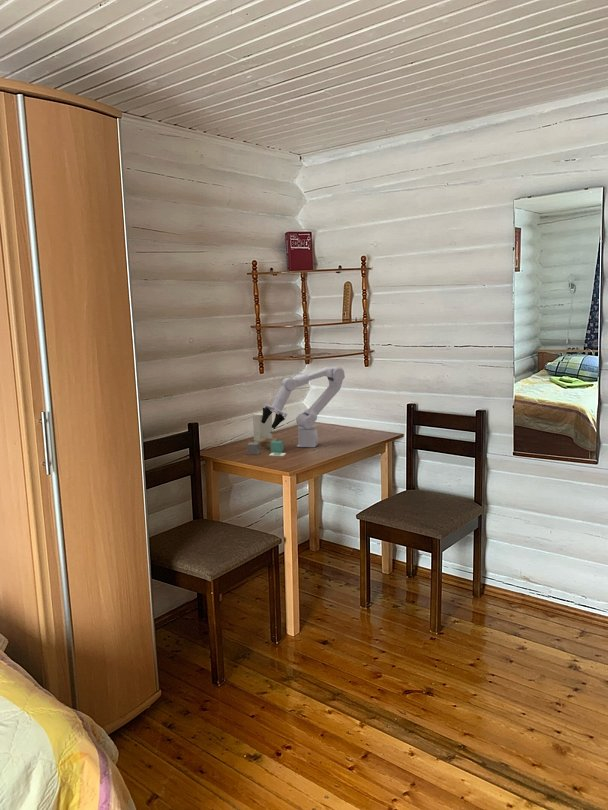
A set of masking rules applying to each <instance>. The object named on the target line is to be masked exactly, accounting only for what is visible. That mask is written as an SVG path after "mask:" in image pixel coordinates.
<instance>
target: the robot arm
mask: <svg viewBox="0 0 608 810" xmlns="http://www.w3.org/2000/svg"><path fill="white" fill-rule="evenodd" d="M298 373H299V374H297V375H291V376H290V377H285V378H284V379H283V380H281V382H280V388H279V390H278V392H277V393H276V396H275V397H274V399H273V402H272V403H271V405H270V404H268V403H264V406H263V407H262V413H263V415H262V420H261V422H262V423H264V424H265V422H266V420H267V419H268V417H269V416H270V415H271V414H272V413H275V416H274V420H273V421H272V429H273V430H275V429H276V428H277V427H278V426H279V425H280V424H281V423H282V422H284V421H285V420H286V418H287V416H288V413H286V412H284V411H283V410H284V407H285V405H286V403H287V401H288V399H289V397H290V396H291V393H292V391H295V390H296V389H297V388H301V387H302V386H306V385H308V384H309V383H310V381H312V380H315V379H319V378H322V377H327V380H328V387H327V388H325V390H324V391H323V392H322V393H321V395H320V396H319V397H318V398H316V400H315V401H314V402H313V404H312V405H311V406H309V408H307V409H305V410H304V411H303V412H302V413H299V414H298V415H297V416H296V419H295V421H296V423H297V425H298V427H297V431H298V432H297V433H298V437H297V438H298V443H297V445H296V447H298V448H316V447H317V446H318V444H319V442H318V436H319V435H318V428H314V425H315V422H316V421H317V420H318V415H319V414H320V413H321V412H322V411H323V409H324V408H325V407H326V406H327V405H328V404H329V402H330V401H331V400H332V399H333V398H334V397H335V396H336V395H337V393H338V392H339V391H340V390H341V388H342V384H343V380H344V379H345V378H346V377H345V371H344V369H343V368H342V367H339V366H334V365H328V366H325V367H323V368H320V369H317V370H314V371H312V372H310V373H309V372H308V373H307V372H298ZM272 415H273V414H272Z"/></svg>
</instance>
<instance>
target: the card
mask: <svg viewBox="0 0 608 810" xmlns="http://www.w3.org/2000/svg"><path fill="white" fill-rule="evenodd" d="M286 454H287V453H286V452H281V453H275V452H270V454H269V455H268V456H269V457H270V456H271V457H272V456H273V457H284V456H286Z"/></svg>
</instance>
